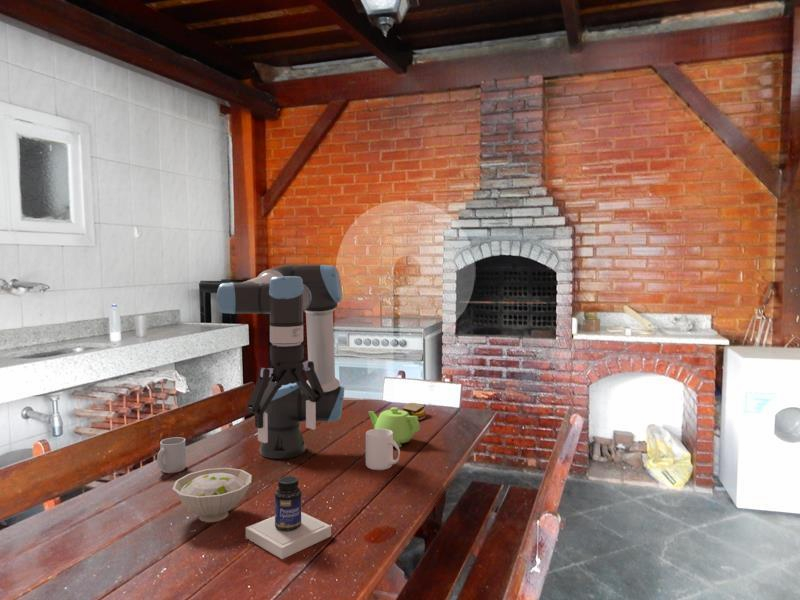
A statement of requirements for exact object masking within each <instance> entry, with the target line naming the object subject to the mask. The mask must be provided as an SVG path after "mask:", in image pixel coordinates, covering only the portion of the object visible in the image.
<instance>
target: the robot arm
mask: <svg viewBox="0 0 800 600" xmlns="http://www.w3.org/2000/svg"><path fill="white" fill-rule="evenodd" d="M342 289H343V288H342V282H341V277H340V273H339V270H338V268H337V267H336V266H335V265H332V264H331V265H327V264H326V265H325V264H284V265H280V266H277V267H273V268H269V269H265V270H263V271H261V272H260V273H259V274H258V275H257V277H254V278H250V279H248V280H246V281H245V280H244V281H243V282H242V281H241V282H232V281H231V282H223V283H221V284H219V286H218V288H217V292H216V305H217V308H218V310H219V312H220V313H223V314H232V315H235V314H262V315H263V314H265V315H266V314H268V315H269V342H270V343H271V345H270V346H269V348H270V349H269V355H270V356H269V359H270V363H271V366H270V367H268V368H265V367H260V368H259V369H258V376H257V380H256V382H255V384H254V388H253V390H252V393H251V395H250V397H249V399H248V403H247V405H246V407H245V409H246V411H247V412H250V413H252V414H254V426H255V428H256V429H257V441H258V442H260V445H259V454H260V456H262V457H264V458H266V459H267V458H268V459H273V460H275V459H277V460H278V459H280V460H283V459H291V458H295V457H299V456H302V454H304V453H305V452H306V442H305V440H304V439H305V438H304V437H303V434H302V431H301V430H302V429H301V426H300V425H301V423H302V422H303V423H304V422H305V428H307V429H310V430H316V428H317V425H316V423H317V422H321V423H324V422H326V423H330V422H339V421H340V419H341V417H342V412H343V407H344V406H343V404H344V397H345V386H342V385H340V383H341V382H340V380H339V379H338V378H336V372H335V370H336V368H335V367H336V366H335V341H334V340H335V339H334V337H335V336H334V312H335V310H336V309H337V308H338V303H341V302H342V299H343V291H342ZM304 313H305V321H306V341H307V342H306V343H307V360H306V359H305V360H304V358H305V355H304V354H305V353H304V350H305V349H304V345H303V342H304ZM303 371H304V374H305V376H306V378H305V377H304V375H303V374H302V373H303ZM306 379H307V380H306ZM300 422H301V423H300Z"/></svg>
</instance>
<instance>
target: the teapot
mask: <svg viewBox="0 0 800 600" xmlns="http://www.w3.org/2000/svg"><path fill="white" fill-rule="evenodd" d="M368 415H369V416H368V417H370V421H371V423H372V426H373V429H387V430H391V431H392V432H393V440H394V441H395V442H396V443H397V445H398V446H399V448H402V444H404V443H409V442H410V441H411V439H412V438H413V437H414V435H415V433H417V432H418V431H420V430H421V426H420V422H419V421H420V420H419V421H418V416H410V415H409V413H408V412H406V411H404V410H403V409H402V410H401V409H399V407H397V406H396V407H395V406H394V407H393V406H392V407H390V409H386V410H384V411H381V413H380V414H379V415H378V416H377V414H376V413H375V412H374V410H373V411H372V410H370V411H368Z"/></svg>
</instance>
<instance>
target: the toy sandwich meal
mask: <svg viewBox="0 0 800 600" xmlns="http://www.w3.org/2000/svg"><path fill="white" fill-rule="evenodd" d="M402 411H406V412H408V413H409V415H410V416H418V420H419V421H422V420H423V419H424V418H425V417H426V414H425V413H426V409H425V405H423V404H421V403H416V402H410V403H408V404H407V405H405V406H403V407H402Z"/></svg>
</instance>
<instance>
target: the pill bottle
mask: <svg viewBox="0 0 800 600" xmlns="http://www.w3.org/2000/svg"><path fill="white" fill-rule="evenodd" d="M277 486H278V488H277V489H276V490H275V492H274V516H275V527H276V528H277V529H278V530H281V531H290V530H295V529H297V528H298V527H300V525H301V512H302V490H301V488H300V487H298V486H299V478H298V477H297V476H293V475H287V476H281V477H280V478H278V480H277Z"/></svg>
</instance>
